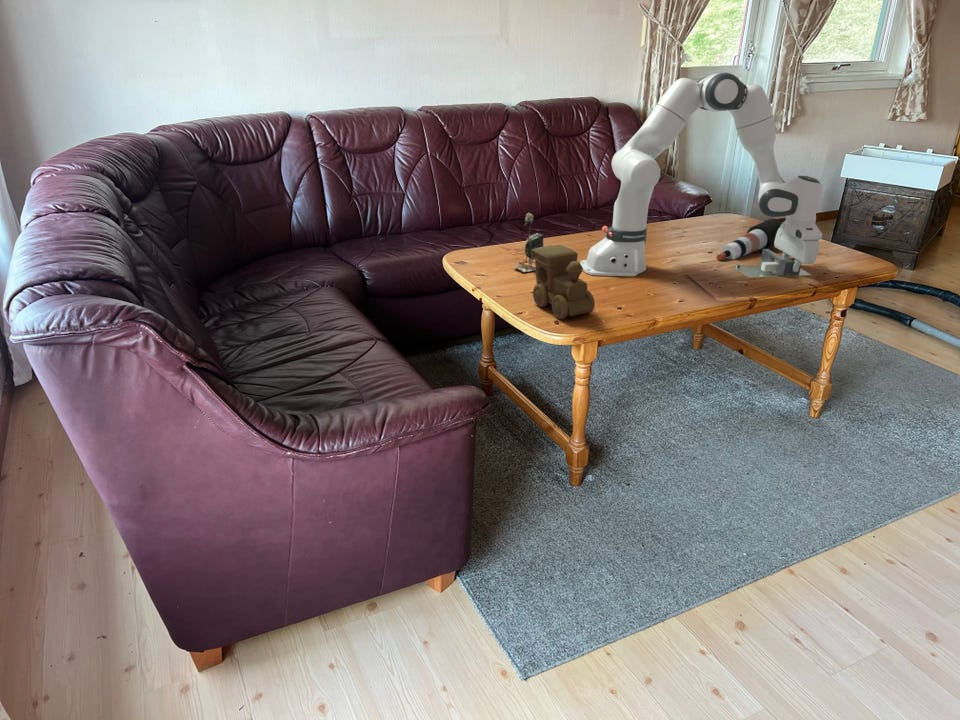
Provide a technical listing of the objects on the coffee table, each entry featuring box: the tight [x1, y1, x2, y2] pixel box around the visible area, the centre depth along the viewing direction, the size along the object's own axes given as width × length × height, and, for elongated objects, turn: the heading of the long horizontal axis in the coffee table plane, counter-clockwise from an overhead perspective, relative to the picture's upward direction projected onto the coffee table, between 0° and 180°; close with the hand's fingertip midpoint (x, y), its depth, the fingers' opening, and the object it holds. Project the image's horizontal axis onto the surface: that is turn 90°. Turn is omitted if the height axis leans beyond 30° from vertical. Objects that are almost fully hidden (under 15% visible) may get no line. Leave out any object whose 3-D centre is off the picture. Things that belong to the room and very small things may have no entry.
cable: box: [716, 218, 783, 261], centre depth 243 cm, size 10×34×10 cm, turn 128°
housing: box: [732, 249, 812, 279], centre depth 225 cm, size 22×12×7 cm, turn 96°
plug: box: [761, 257, 802, 274], centre depth 224 cm, size 12×4×4 cm, turn 96°
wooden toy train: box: [532, 244, 596, 320], centre depth 194 cm, size 20×11×17 cm, turn 27°
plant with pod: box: [513, 212, 545, 273], centre depth 227 cm, size 8×11×20 cm
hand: (790, 268), depth 224 cm, fingers closed on plug, 4 cm apart
